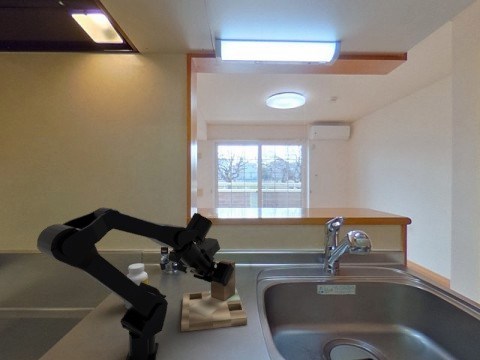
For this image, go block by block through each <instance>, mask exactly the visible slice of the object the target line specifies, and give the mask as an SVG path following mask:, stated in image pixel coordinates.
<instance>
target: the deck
mask: <svg viewBox="0 0 480 360" xmlns="http://www.w3.org/2000/svg"><path fill="white" fill-rule="evenodd" d="M182 297H183V298H182V311H181V321H180V322H181V323H180V324H181V325H180V326H181V328H180V329H181V333H183V332H189V331H199V330H200V331H201V330H209V329H218V328H226V327H235V326H243V325H248V316H247V312H246V311H245V307H244V306H243V303H242V301H241V297H240V295H239V293H238V289H237V288H235V295H233V296H232V297H230V298H229V299H227V300H226V301H221V300H218V299H215V298H213V297H211V290H206V291H194V292H193V291H192V292H184V293H183V296H182Z"/></svg>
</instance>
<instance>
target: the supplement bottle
mask: <svg viewBox="0 0 480 360" xmlns="http://www.w3.org/2000/svg"><path fill="white" fill-rule="evenodd" d="M127 268H128V270H127V271H128V273H127V274H126V276H127V277H128V278H129V279H131V280H132V281H133V282H134V283H136V284H137V285H138V286H139V285H140V283H141V282H143V283H145V284H148V285H149V281H148V279H149V277H148V273H147V272H146V271H145V264H144V263H138V262H137V263H133V264H130V265H129V266H128V267H127ZM125 308H127V307H126V306H125ZM127 310H128V308H127Z"/></svg>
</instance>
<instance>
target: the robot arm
mask: <svg viewBox="0 0 480 360" xmlns="http://www.w3.org/2000/svg"><path fill="white" fill-rule="evenodd" d="M212 226H213V222H212V221H211V219H208V218H207V217H205V215H204V216H203V215H202V214H201V213H199V212H198V213H197V212H194V213H193V214H192V217H191V219H190V221H189V222H188V224H187V225H186V227H185V226H182V225H180V226H179V225H173V224H169V223H159V222H152V221H150V220H147V219H144V218H141V217H137V216H134V215H130V214H127V213H124V212H122V211H119V210H118V209H116V208H110V207H99V208H98V209H96V210H93V211H91V212H89V213H87V214H84V215H81V216H77V217H74V218H72V219H69V220H68V221H65V222H64V223H57V224H52V225H49V226H47V227H45V228H44V229H43V230H42V231H41V232H40V233H39V235H38V237H37V241H36V243H37V244H36V248H37V249H38V250H39V252H40V253H42V254H43V255H46V256H48V257H50V258H52V259H54V260H56V261H59V262H61V263H63V264H66V265H69V266H71V267H73V268H76V269H78V270H80V271H81V272H83V273H84V274H86V275H87V276H88V277H90V278H91V279H93V281H95V282H96V283H98V284H99V285H100V286H101V285H102V286H103V287H104V288H105V289H107V290H108V291H110V292H111V293H112V294H113V295H115V296H116V297H118V298H119V299H121V300H122V301H123V302H124V305H125V308H126V307H127V308H128V309H127V310H126V312H125V313H124V314H123V315H122V318H121V320H120V321H119V322H120V325H121V327H122V328H123V329H125V330H126V331H128V352H127V353H128V354H127V355H126V358H125V360H157V356H158V355H157V354H158V350H159V342H156V335H157V334H159V333H161V332H162V331H163V327H164V325H165V320H166V316H167V311H168V305H169V303H168V301H167V299H166V298H167V295H165V294H163V293H161V291H160V290H159V289H158V288H157V287H154V286H153V285H149V283H148V284H145V283H143V282H141V283H140V285H139V286H138V285H137V284H136V283H134V282H133V281H132V280H131V279H129V278H128V277H127V274H125V273H123V272H122V271H121V270H119V269H118V268H117V267H116V266H114V265H113V264H112V263H111V262H109V260H107V259H106V258H104V257H103V256H101V254H100V253H99V250H98V248H97V246H96V244H97V243H98V242H100V241H101V240H102V239H103V238H104V237H105V236H106V235H107V234H108V233H109V232H110V231H112V230H116V231H119V232H125V233H128V234H133V235H136V236H139V237H144V238H147V239H149V240H151V241H152V242H153V243H155V244H157V245H159V246H161V247H166V248H170V249H172V250H171V251H169V252H168V253H169V254H168V257H167V258H168V259H167V260H168V261H169V262H172V263H176V264H177V265H176V271H177V272H179V273H180V274H183V275H187V273H188V271H187V269H190V270H189V272H190V273H191V274H192V275H193V278H195V279H199V280H201V281H205V282H208V283H211V282H214V283H215V284H217V285H220V286H224V287H225V286H226V285H227V284H228V281H229V279H230V277H231V275H232V272H233V270H234V266H233V265H232V264H231V263H228V262H224V261H220V262H219V263H216V262H215V261H214V260H215V257H214V256H215V254H216V253H217V252H218V251H220V250H221V247H220V244H219V240H218V239H217V238H212V237H207V235H208V233H209V232H210V229H211V228H212Z"/></svg>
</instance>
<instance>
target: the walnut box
mask: <svg viewBox="0 0 480 360" xmlns="http://www.w3.org/2000/svg"><path fill="white" fill-rule="evenodd" d="M220 261H224V262H228V263H231V264H232V265H233V266H234V270H233V272H232V275H231V277H230V279H229V281H228V284H227V285H226V286H225V287H224V286H220V285H217V284H215V283H214V282H210V291H211V297H213V298H215V299H218V300H221V301H226V300H227V299H229V298H230V297H232V296H233V295H235V289H236V261H235V260H230V259H225V258H223V257H222V258H220V259H217V260H216V261H214V262H216V263H219V262H220Z"/></svg>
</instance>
